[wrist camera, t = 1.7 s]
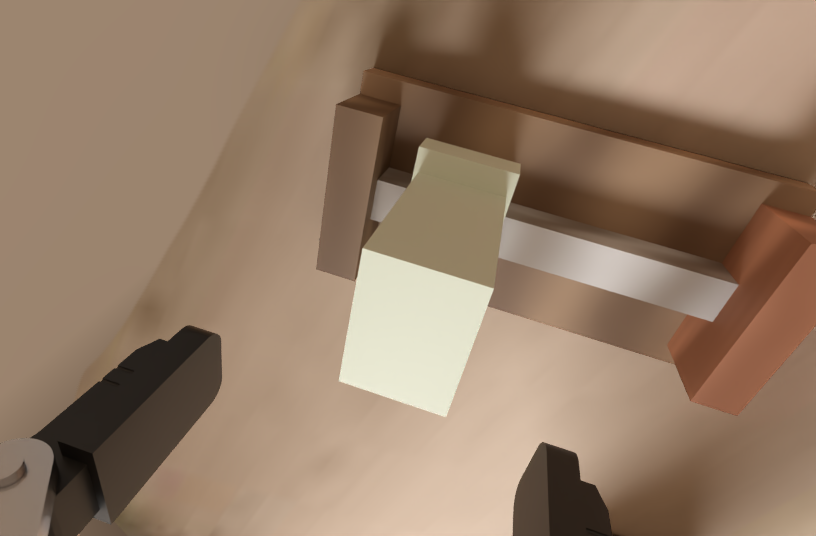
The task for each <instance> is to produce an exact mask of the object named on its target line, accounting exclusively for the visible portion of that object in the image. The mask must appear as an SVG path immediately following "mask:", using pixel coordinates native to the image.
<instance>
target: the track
mask: <svg viewBox="0 0 816 536" xmlns="http://www.w3.org/2000/svg"><path fill="white" fill-rule="evenodd" d="M426 138H430V139H433V140H437V141H440V142H444V143H448V144H451V145H455V146H458V147H462V148H466V149H469V150H473V151H476V152H480V153H484V154H487V155H491V156H494V157H498V158H501V159H505V160H509V161H512V162H516V163H519V164H521V168H520V176H519V179H518V182H517V185H516V188H515V190H514V193H513V196H512V199H511V202H510V204H509V207H508V210H507V213H506V216H505V219H504V221H503V227H502V234H501V241H500V248H499V256H498V263H497V270H496V277H495V285H494V290H493V293H492V295H491V298H490V301H489V303H488V306H489V307H492V308H495V309H498V310H502V311H505V312H508V313H511V314H514V315H518V316H521V317H524V318H527V319H530V320H534V321H537V322H540V323H543V324H546V325H550V326H553V327H556V328H559V329H563V330H566V331H569V332H572V333H575V334H579V335H582V336H585V337H588V338H591V339H595V340H598V341H601V342H604V343H607V344H611V345H614V346H617V347H620V348H623V349H627V350H630V351H633V352H636V353H639V354H643V355H646V356H649V357H652V358H656V359H659V360H662V361H665V362H668V363H672V364H675V365H676V368H677V370H678V372H679V375H680V377H681V380H682V382H683V384H684V387H685V389H686V392H687V394H688V396H689V399H690V401H692V402H695V403H698V404H701V405H705V406H708V407H711V408H714V409H717V410H720V411H723V412H727V413H730V414H733V415H736V416H737V415H738V414H739V413H740V412H741V411H742V410H743V409H744V407H745V406H746V405H747V404H748V403H749V402H750V401H751V399H752V398H753V397H754V396H755V395H756V394H757V392H758V391H759V390H760V389H761V388H762V387H763V386H764V384H765V383H766V382H767V381H768V380H769V379H770V378H771V376H772V375H773V374H774V373H775V372H776V371H777V369H778V368H779V367H780V366H781V365H782V364H783V363H784V361H785V360H786V359H787V358H788V357H789V356H790V354H791V353H792V352H793V351H794V350H795V349H796V348H797V346H798V345H799V344H800V343H801V342H802V341H803V340H804V338H805V337H806V336H807V335H808V334H809V333H810V331H811V330H812V329H813V328H814V327H815V326H816V220H815V219H813V218H812V217H811V216H812V214H813V213H814V212H815V210H816V188H815V187H813V186H811V185H810V184H808V183H804V182H801V181H797V180H793V179H789V178H786V177H782V176H778V175H774V174H771V173H767V172H763V171H759V170H756V169H752V168H748V167H744V166H741V165H737V164H733V163H729V162H725V161H722V160H718V159H714V158H710V157H707V156H703V155H699V154H695V153H692V152H688V151H684V150H680V149H677V148H673V147H669V146H665V145H662V144H658V143H654V142H650V141H646V140H643V139H639V138H635V137H631V136H628V135H624V134H620V133H616V132H613V131H609V130H605V129H601V128H598V127H594V126H590V125H586V124H583V123H579V122H575V121H571V120H568V119H564V118H560V117H556V116H552V115H549V114H545V113H541V112H537V111H534V110H530V109H526V108H522V107H519V106H515V105H511V104H507V103H504V102H500V101H496V100H492V99H489V98H485V97H481V96H477V95H473V94H470V93H466V92H462V91H458V90H455V89H451V88H447V87H443V86H440V85H436V84H432V83H428V82H425V81H421V80H417V79H413V78H410V77H406V76H402V75H398V74H395V73H391V72H387V71H383V70H379V69H376V68H371V69H368V70H365V71H363V78H362V84H361V91H360V94H359V95H356V96H354V97H352V98H350V99H347V100H345V101H343V102H341V103H338V104H336V110H335V119H334V127H333V135H332V143H331V151H330V160H329V168H328V176H327V184H326V193H325V201H324V209H323V217H322V226H321V234H320V242H319V250H318V259H317V267H316V269H317V270H320V271H323V272H327V273H330V274H333V275H336V276H339V277H343V278H346V279H349V280H352V281H355V279H356V278H357V276H358V271H359V265H360V259H361V254H362V248H363V247H364V245H365V244H366V243H367V241H368V240H369V239H370V237H371V236H372V235H373V233H374V232H375V231H376V229H377V228H378V226H379V225H380V224H381V222H382V221H383V220H384V218H385V217H386V216H387V214H388V213H389V211H390V210H391V209H392V207H393V206H394V205H395V203H396V202H397V201H398V199H399V198H400V197H401V195H402V194H403V192H404V191H405V190H406V188H407V187H408V186H409V184H410V183H411V180H412V176H413V171H414V167H415V162H416V158H417V153H418V149H419V146H420V145H421V144H422V142H423V141H424V140H425V139H426Z"/></svg>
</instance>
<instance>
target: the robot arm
mask: <svg viewBox="0 0 816 536" xmlns="http://www.w3.org/2000/svg"><path fill="white" fill-rule="evenodd" d="M221 381H222V360H221V338H220V336H219V335H218V334H215V333H212V332H209V331H206V330H203V329H200V328H197V327H194V326H191V325H189V326H186V327H184V328H182V329H181V330H180V331H179V332H178V333H177V334H176V335H174V336H173V337H172V338H171V339H170V340H169V341H165V340H162V339H158V340H156V341H154V342H152V343H150V344H148V345H145V346H143V347H141V348H139V349H137V350H135V351H134V352H133V353H132V354H131V355H129V356H128V357H127V358H126V359H125V360H124V361H122V362H121V363H120V364H119V365H118V367H117V368H116V369H115V368H114V369H113V370H112V371H111V372H109V373H108V374H107V375H106V376H105V377H103V380H102V381H101V382H98V383H96V384H95V385H94V386H93V387H92V388H90V389H89V390H88V391H87V392H86V393H85V394H83V395H82V396H81V397H80V398H79V399H77V400H76V401H75V402H74V403H73V404H72V405H70V406H69V407H68V408H67V409H66V410H65V411H63V412H62V413H61V414H60V415H59V416H57V417H56V418H55V419H54V420H53V421H51V422H50V423H49V424H48V425H47V426H46V427H44V428H43V429H42V430H41V431H40V432H38V433H37V434H36V435H34V436H32V437H31V438H21V439H13V440H9V441H5V442H2V443H0V536H80V532H81V531H82V530H83V529H84V527H85V526H86V525H87V524H88V523H89V522H90V521H91V519H92V518H95V519H98V520H101V521H103V522H106V523H108V524H112V523H113V522H114V521H115V520H116V518H117V517H118V516H119V515H120V513H121V512H122V511H123V510H124V509H125V507H126V506H127V505H128V504H129V503H130V501H131V500H132V499H133V498H134V496H135V495H136V494H137V493H138V492H139V490H140V489H141V488H142V487H143V486H144V484H145V483H146V482H147V481H148V480H149V478H150V477H151V476H152V475H153V473H154V472H155V471H156V470H157V469H158V467H159V466H160V465H161V464H162V463H163V461H164V460H165V459H166V458H167V456H168V455H169V454H170V453H171V452H172V450H173V449H174V448H175V447H176V446H177V444H178V443H179V442H180V441H181V440H182V438H183V437H184V436H185V435H186V433H187V432H188V431H189V430H190V429H191V427H192V426H193V425H194V424H195V423H196V421H197V420H198V419H199V418H200V416H201V415H202V414H203V413H204V412H205V410H206V409H207V408H208V407H209V406H210V404H211V403H212V402H213V400H214V399H215V397H216V395H217V393H218V391H219V389H220V385H221ZM513 536H612V532H611V526H610V519H609V513H608V509H607V507H606V506H605V504H604V502H603V500H602V498H601V496H600V494H599V492H598V490H597V488H596V486H595V485H592V484H589V483H586V482H583V481H581V480H580V470H579V461H578V457H577V455H576V453H574V452H571V451H568V450H565V449H562V448H559V447H556V446H553V445H550V444H547V443H544V442H542V443H541V444H540V445H539V446H538V448H537V450H536V452H535V454H534V456H533V457H532V459H531V461H530V463H529V465H528V467H527V468H526V470H525V472H524V474H523V476H522V478H521V480H520V482H519V484H518V487H517V491H516V495H515V501H514V512H513Z"/></svg>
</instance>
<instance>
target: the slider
mask: <svg viewBox="0 0 816 536" xmlns="http://www.w3.org/2000/svg"><path fill="white" fill-rule="evenodd" d="M520 168H521V164H519V163H516V162H512V161H509V160H505V159H501V158H498V157H494V156H491V155H487V154H484V153H480V152H476V151H473V150H469V149H466V148H462V147H458V146H455V145H451V144H448V143H444V142H440V141H437V140H433V139H430V138H426V139H425V140H424V141H423V142H422V144H421V145H420V146H419V149H418V153H417V158H416V162H415V167H414V171H413V176H412V180H411V183H410V184H409V186H408V187H407V188H406V190H405V191H404V192H403V194H402V195H401V197H400V198H399V199H398V201H397V202H396V203H395V205H394V206H393V207H392V209H391V210H390V211H389V213H388V214H387V216H386V217H385V218H384V220H383V221H382V222H381V224H380V225H379V226H378V228H377V229H376V231H375V232H374V233H373V235H372V236H371V237H370V239H369V240H368V241H367V243H366V244H365V245H364V247H363V248H362V254H361V259H360V265H359V271H358V276H357V282H356V287H355V293H354V298H353V304H352V310H351V315H350V321H349V326H348V332H347V337H346V343H345V349H344V354H343V360H342V365H341V371H340V376H339V381H340V382H343V383H346V384H349V385H352V386H355V387H358V388H361V389H364V390H367V391H370V392H373V393H376V394H378V395H381V396H384V397H387V398H390V399H393V400H396V401H399V402H402V403H405V404H408V405H411V406H414V407H417V408H420V409H423V410H426V411H429V412H432V413H434V414H437V415H440V416H443V417H446V416H447V413H448V410H449V408H450V405H451V402H452V400H453V397H454V394H455V392H456V389H457V386H458V384H459V381H460V378H461V376H462V373H463V370H464V368H465V365H466V362H467V359H468V357H469V354H470V351H471V349H472V346H473V343H474V341H475V338H476V335H477V333H478V330H479V327H480V325H481V322H482V319H483V317H484V314H485V311H486V309H487V306H488V303H489V301H490V298H491V295H492V293H493V290H494V285H495V277H496V270H497V263H498V256H499V248H500V241H501V234H502V227H503V221H504V219H505V216H506V213H507V210H508V207H509V204H510V202H511V199H512V196H513V193H514V190H515V188H516V185H517V182H518V179H519V176H520Z"/></svg>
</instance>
